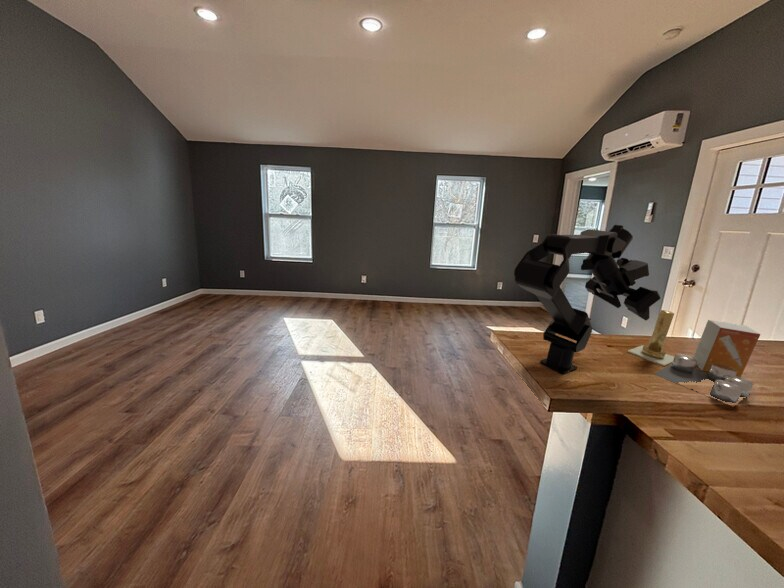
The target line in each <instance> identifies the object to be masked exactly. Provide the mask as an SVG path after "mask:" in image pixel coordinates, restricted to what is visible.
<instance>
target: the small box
mask: <svg viewBox="0 0 784 588" xmlns="http://www.w3.org/2000/svg"><path fill="white" fill-rule="evenodd" d="M760 336H761V333H760V332H757V331H756V330H754V329H752V328H751V327H749V326H747V325H742V324H737V323H732V322H725V321H718V320H712V319H711V320H710V319H707V322H706V324H705V327H704V330H703V331H702V335H701V337H700V339H699V342H698V344H697V347H696V349H695V352H694V355H693V356H692V357H693V358H695V359H696V360H697V363H696V366H697V368H699V370H700V371H703V372H706V373H709V372H710V369H711V367H712V365H713V364H719V365H723V366H727V367H729V368H732V369H734V370H735V371H736V372H737V373H736V376H738V377H742V375H743V373H744V371H745V370H746V367H747V365H748V362H749V361H750V358H751V356H752V354H753V352H754V349H755V347H756V346H757V344H758V340H759V338H760Z"/></svg>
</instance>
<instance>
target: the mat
mask: <svg viewBox="0 0 784 588" xmlns="http://www.w3.org/2000/svg"><path fill="white" fill-rule="evenodd" d="M671 365H672V364H669V365H667V366H665V367H664V368H662V369H660V370H657V371H656V372H654V373H653V375H654V376H656V377H660V378H661V379H665V380H666V381H669V382H671V383H674V384H676V385H678V384H677V383H679V382H684V383H685V382H686V383H687V382H689V381H691V382H692V381H693V382H695V381H696V383H697V382H701V380H703V379H704V380H705V379H708V378H707V376H708V374H709V372H706V371H702V370H701V369H697V368H694V371H693V373H692V374H686V373H682V372H679V371H677V370H675V369H673V368H672V367H671Z"/></svg>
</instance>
